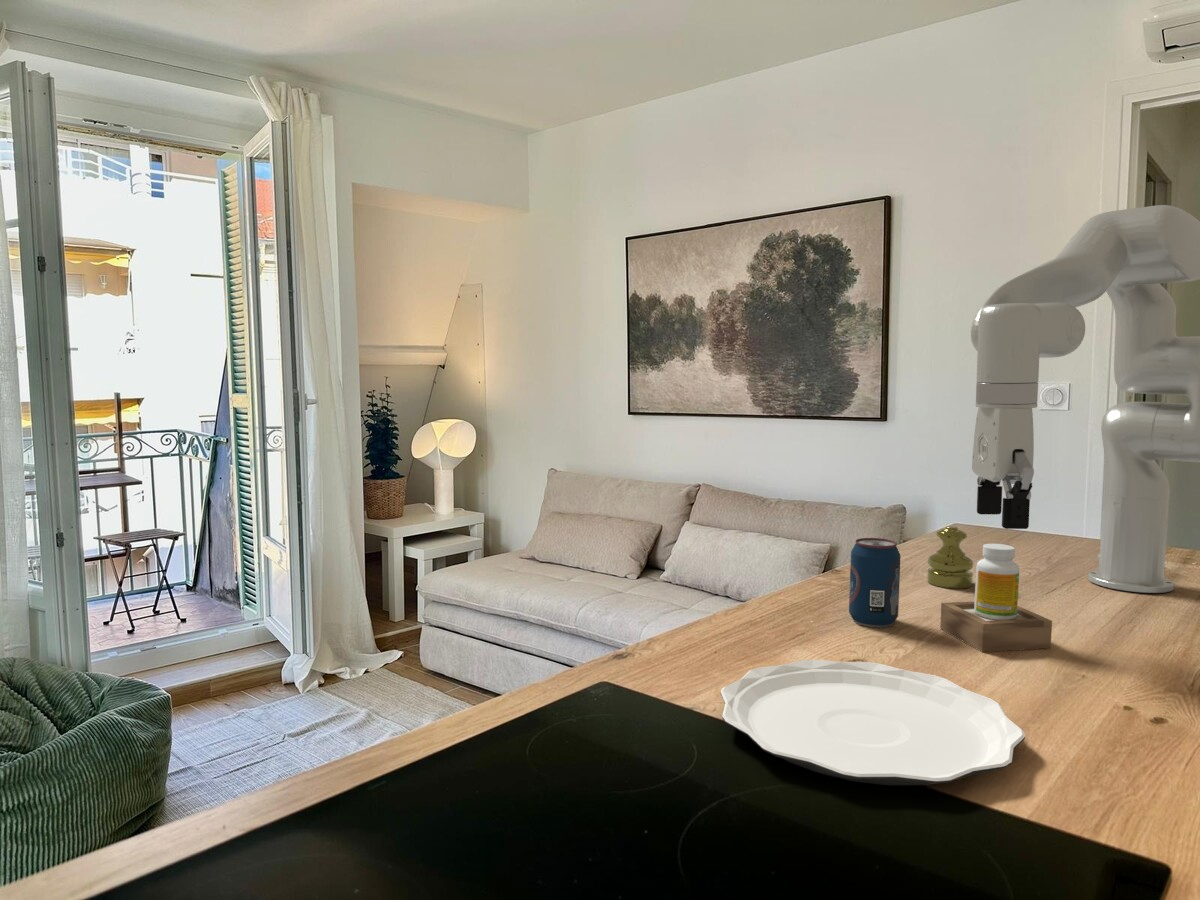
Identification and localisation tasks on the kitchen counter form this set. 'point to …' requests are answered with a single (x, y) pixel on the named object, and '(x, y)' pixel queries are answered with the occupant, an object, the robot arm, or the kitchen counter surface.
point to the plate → (871, 722)
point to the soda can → (874, 582)
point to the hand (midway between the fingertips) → (1001, 520)
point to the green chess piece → (950, 561)
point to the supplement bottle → (997, 583)
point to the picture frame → (996, 628)
